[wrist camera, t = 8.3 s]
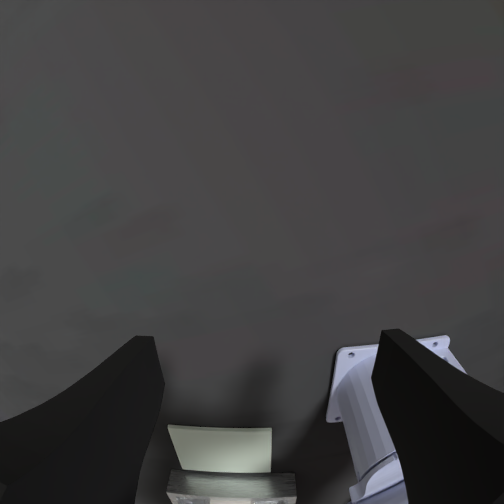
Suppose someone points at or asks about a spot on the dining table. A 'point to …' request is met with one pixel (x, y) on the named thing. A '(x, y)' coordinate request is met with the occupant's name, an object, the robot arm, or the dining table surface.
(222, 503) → the block
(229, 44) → the dining table surface
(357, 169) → the dining table surface
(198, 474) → the case
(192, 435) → the pad
